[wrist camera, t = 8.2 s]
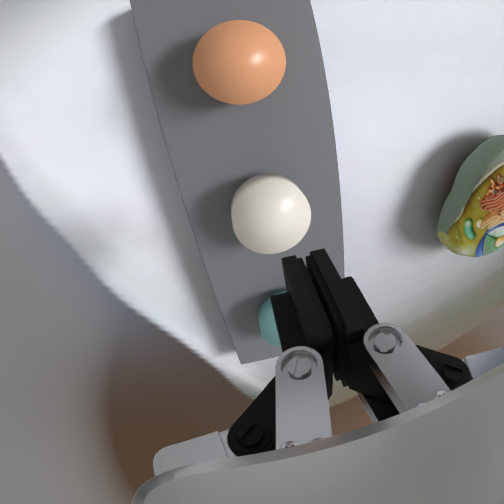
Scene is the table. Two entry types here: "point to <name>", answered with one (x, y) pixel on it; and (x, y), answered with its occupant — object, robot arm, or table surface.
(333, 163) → the button panel
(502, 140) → the cell model
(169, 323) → the table surface
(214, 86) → the button terracotta
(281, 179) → the button ivory
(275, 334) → the button teal
